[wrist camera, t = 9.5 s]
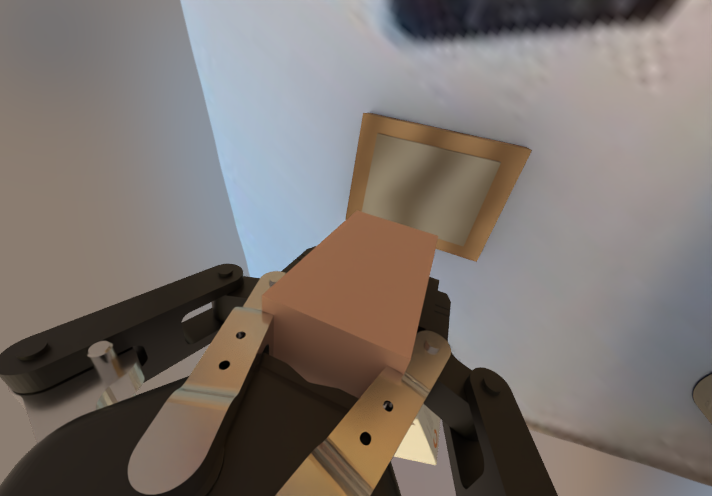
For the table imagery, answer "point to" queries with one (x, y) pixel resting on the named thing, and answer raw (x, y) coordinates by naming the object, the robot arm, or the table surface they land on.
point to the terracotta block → (353, 303)
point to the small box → (421, 438)
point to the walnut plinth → (434, 180)
